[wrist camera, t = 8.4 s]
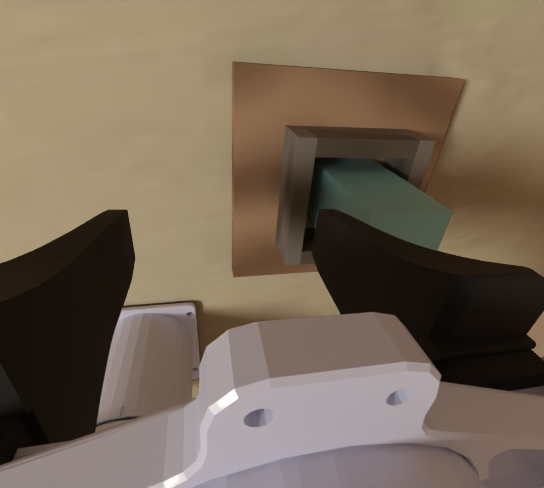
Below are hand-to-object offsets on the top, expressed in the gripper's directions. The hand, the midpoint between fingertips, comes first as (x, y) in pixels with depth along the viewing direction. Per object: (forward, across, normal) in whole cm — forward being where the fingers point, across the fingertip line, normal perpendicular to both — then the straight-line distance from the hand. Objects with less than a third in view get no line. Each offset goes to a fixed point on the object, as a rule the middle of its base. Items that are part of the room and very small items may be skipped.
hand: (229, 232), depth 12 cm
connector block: (+8, -8, +1) cm, 12 cm away
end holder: (+9, -8, +1) cm, 12 cm away
